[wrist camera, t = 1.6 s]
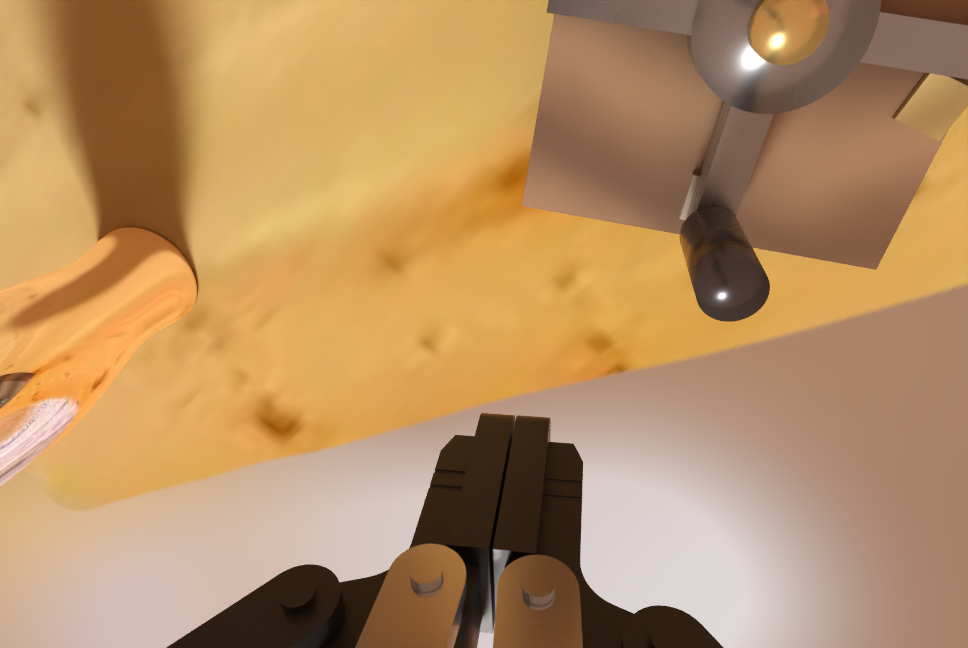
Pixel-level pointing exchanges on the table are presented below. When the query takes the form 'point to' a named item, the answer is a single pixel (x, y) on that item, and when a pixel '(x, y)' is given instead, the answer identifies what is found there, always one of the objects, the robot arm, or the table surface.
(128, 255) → the beer glass
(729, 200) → the capstan
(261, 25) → the table surface
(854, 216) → the stand
